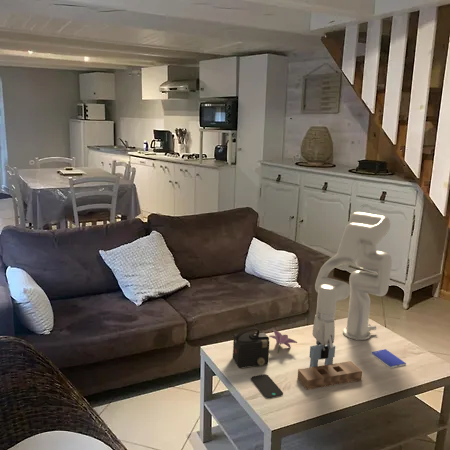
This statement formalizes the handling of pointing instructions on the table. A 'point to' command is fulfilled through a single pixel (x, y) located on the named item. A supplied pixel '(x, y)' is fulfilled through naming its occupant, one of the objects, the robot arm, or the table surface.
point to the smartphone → (266, 386)
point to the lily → (282, 339)
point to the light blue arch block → (316, 355)
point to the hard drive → (388, 358)
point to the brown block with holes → (329, 375)
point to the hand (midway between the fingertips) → (322, 355)
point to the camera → (250, 348)
